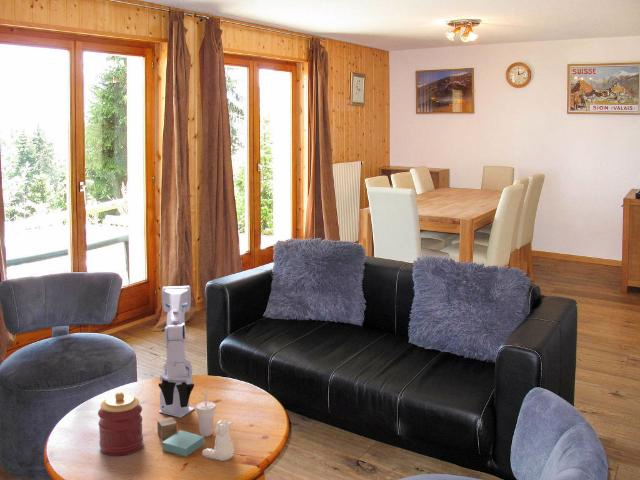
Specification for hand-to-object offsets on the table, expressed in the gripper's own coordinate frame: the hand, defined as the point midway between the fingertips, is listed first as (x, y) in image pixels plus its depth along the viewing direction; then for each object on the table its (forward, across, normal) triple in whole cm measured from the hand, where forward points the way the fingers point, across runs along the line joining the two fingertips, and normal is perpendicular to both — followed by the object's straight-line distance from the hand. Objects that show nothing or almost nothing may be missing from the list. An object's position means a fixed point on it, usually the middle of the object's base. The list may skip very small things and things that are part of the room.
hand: (176, 405), depth 211 cm
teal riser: (+12, +4, -1) cm, 13 cm away
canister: (+11, -10, -14) cm, 20 cm away
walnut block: (+10, -5, 0) cm, 11 cm away
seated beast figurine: (+14, +17, +4) cm, 23 cm away
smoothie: (+10, +3, +9) cm, 14 cm away
